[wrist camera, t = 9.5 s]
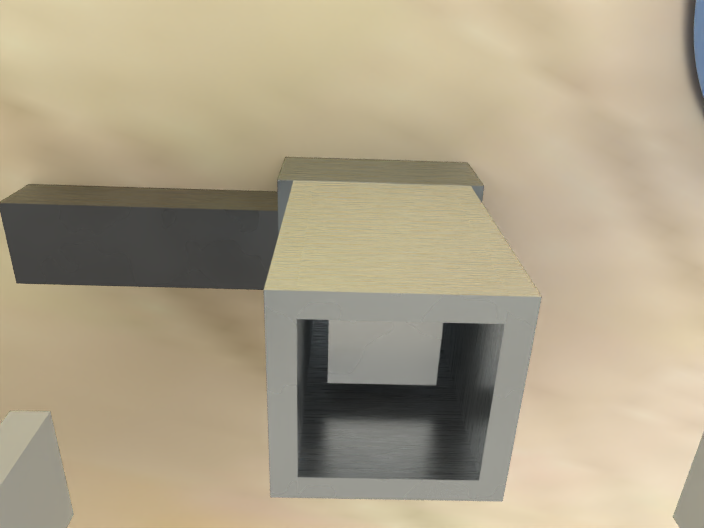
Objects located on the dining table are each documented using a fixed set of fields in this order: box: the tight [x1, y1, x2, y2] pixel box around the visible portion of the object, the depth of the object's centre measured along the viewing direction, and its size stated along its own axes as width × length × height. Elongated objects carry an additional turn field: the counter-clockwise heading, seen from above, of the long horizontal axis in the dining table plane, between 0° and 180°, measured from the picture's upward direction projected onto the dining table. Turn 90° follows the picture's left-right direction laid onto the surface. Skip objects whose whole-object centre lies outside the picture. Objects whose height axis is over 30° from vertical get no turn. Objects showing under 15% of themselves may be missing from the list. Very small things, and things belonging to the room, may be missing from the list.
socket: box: [264, 180, 542, 501], centre depth 18 cm, size 6×6×8 cm
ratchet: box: [0, 157, 484, 385], centre depth 20 cm, size 17×6×8 cm, turn 88°
